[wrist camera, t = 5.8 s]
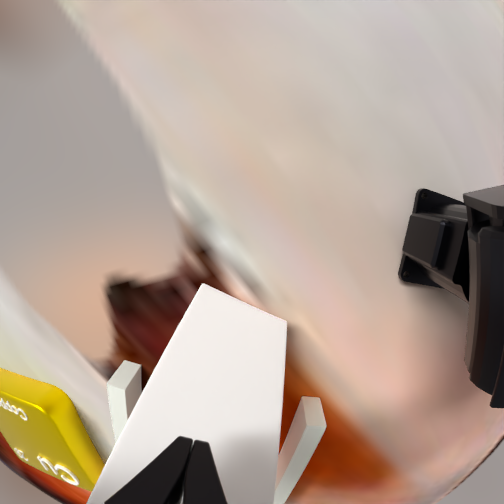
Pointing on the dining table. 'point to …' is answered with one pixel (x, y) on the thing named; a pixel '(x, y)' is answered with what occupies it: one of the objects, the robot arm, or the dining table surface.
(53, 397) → the element tile
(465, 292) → the robot arm
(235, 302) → the milk
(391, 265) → the dining table surface
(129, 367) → the u rest
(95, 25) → the dining table surface
